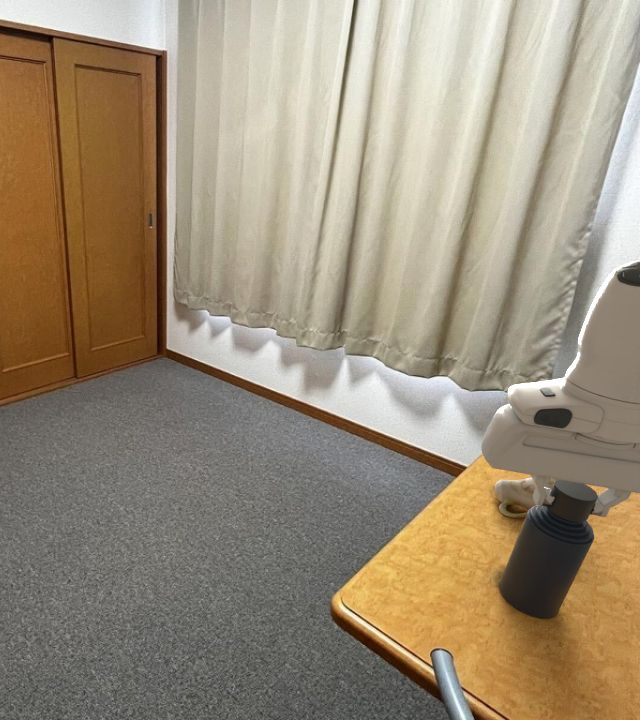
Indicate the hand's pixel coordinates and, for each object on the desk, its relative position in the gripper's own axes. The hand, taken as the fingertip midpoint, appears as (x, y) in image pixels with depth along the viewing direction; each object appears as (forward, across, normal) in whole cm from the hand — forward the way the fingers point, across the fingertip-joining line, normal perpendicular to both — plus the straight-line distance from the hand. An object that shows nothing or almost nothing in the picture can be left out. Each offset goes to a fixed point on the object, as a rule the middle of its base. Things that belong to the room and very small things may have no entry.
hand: (567, 507), depth 58 cm
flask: (+16, 0, 0) cm, 16 cm away
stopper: (0, 0, 0) cm, 0 cm away
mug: (+16, -5, -21) cm, 27 cm away
